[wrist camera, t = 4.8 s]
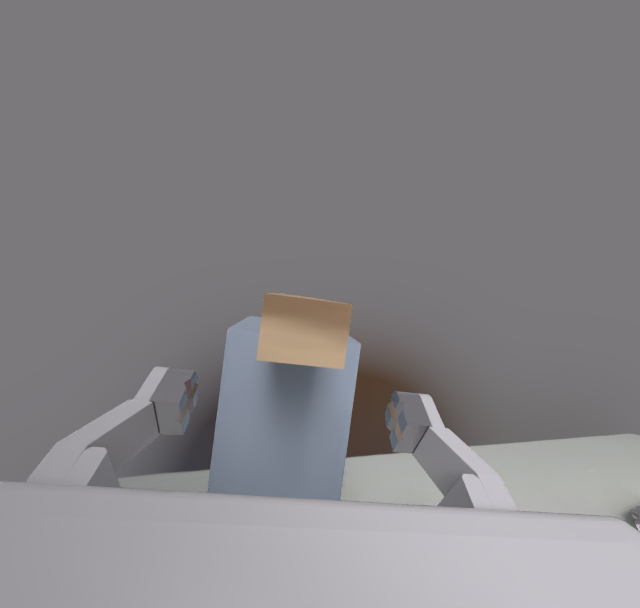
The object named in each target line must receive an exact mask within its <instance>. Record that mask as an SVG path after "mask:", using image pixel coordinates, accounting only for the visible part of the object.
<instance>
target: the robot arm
mask: <svg viewBox="0 0 640 608" xmlns="http://www.w3.org/2000/svg"><path fill="white" fill-rule="evenodd" d="M197 378H198V376H197V372H196V371H191V370H183V369H174V368H165V367H155V368H154V369H153V370H152V371H151V373H150V374H149V376H148V377H147V379H146V380H145V382H144V383H143V385H142V387H141V388H140V390H139V391H138V393H137V394H136V396H135V397H134V399H133V400H127V401H125V402H124V403H122V404H120V405H119V406H117V407H115V408H114V409H112V410H110V411H109V412H107V413H105V414H104V415H102V416H100V417H99V418H97V419H96V420H94V421H92V422H90V423H89V424H87V425H85V426H84V427H82V428H80V429H79V430H77V431H75V432H74V433H72V434H71V435H69V436H67V437H65V438H64V439H62V440H60V441H59V442H57V443H56V444H55V445H54V446H53V448H52V449H51V451H49V453H48V454H47V455H46V456H45V458H44V459H43V460H42V461H41V463H40V464H39V465H38V466H37V468H36V469H35V470H34V471H33V472H32V474H31V475H30V476H29V478H28V479H27V480H26V481H25V482H14V481H13V482H12V481H0V608H640V532H639V531H638V530H636V529H635V528H634V527H632V526H631V525H629V524H628V523H626V522H625V521H623V520H621V519H619V518H615V517H611V516H600V515H582V514H565V513H548V512H530V511H518V509H517V507H516V505H515V503H514V501H513V499H512V497H511V496H510V494H509V492H508V490H507V488H506V486H505V484H504V482H503V481H502V479H501V477H500V475H499V474H498V473H497V472H495V471H494V470H493V469H492V468H491V467H490V466H489V465H488V464H487V463H486V462H484V461H483V460H482V459H481V458H480V457H479V456H478V455H477V454H476V453H475V452H474V451H472V450H471V449H470V448H469V447H468V446H467V445H466V444H464V442H463V441H461V440H460V439H459V438H458V437H457V436H456V435H455V434H454V433H453V432H452V431H450V430H449V429H448V428H445V427H444V425H443V423H442V420H441V418H440V416H439V414H438V412H437V409H436V407H435V404H434V402H433V400H432V398H431V396H430V395H426V394H416V393H406V392H396V391H395V392H394V393H393V394H392V396H391V399H392V402H391V403H389V404H388V405H387V408H386V413H385V420H386V425H387V427H388V428H389V429H390V431H391V434H390V436H389V437H390V441H391V445H392V449H393V452H402V453H411V454H413V456H414V457H415V459H416V460H417V461H418V462H419V464H420V465H421V466H422V468H423V469H424V470H425V472H426V473H427V474H428V476H429V477H430V478H431V479H432V481H433V482H434V483H435V485H436V486H437V487H438V489H439V490H440V491H441V492H442V494H443V495H444V496H445V497H444V498H443V499H442V501H441V502H440V503H439V504H438V506H427V505H409V504H392V503H375V502H358V501H341V500H324V499H306V498H289V497H271V496H254V495H237V494H219V493H202V492H185V491H167V490H150V489H133V488H120V485H119V482H118V479H117V477H116V473H117V472H118V471H119V470H120V469H121V468H122V467H124V466H125V465H126V464H127V463H128V462H129V461H130V460H132V459H133V458H134V457H135V456H136V455H137V454H138V453H139V452H141V451H142V450H143V449H144V448H145V447H146V446H147V445H149V444H150V443H151V442H152V441H153V440H154V439H155V438H157V437H158V436H159V434H175V435H183V434H184V431H185V429H186V427H187V424H188V422H189V413H190V412H191V411H192V410H193V409H194V407H195V405H196V402H197V397H198V385H197V384H196V380H197Z"/></svg>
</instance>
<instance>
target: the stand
mask: <svg viewBox="0 0 640 608" xmlns="http://www.w3.org/2000/svg"><path fill="white" fill-rule="evenodd" d="M260 325H261V317H253V316H249V317H248V318H246V319H245V320H243V321H241V322H239V323H237V324H235V325H234V326H232V327H230V328H229V329H228V332H227V340H226V347H225V355H224V363H223V371H222V379H221V388H220V395H219V404H218V412H217V419H216V427H215V435H214V444H213V452H212V459H211V468H210V476H209V484H208V492H207V493H219V494H237V495H254V496H271V497H289V498H306V499H324V500H340V496H341V488H342V481H343V473H344V466H345V458H346V451H347V443H348V436H349V428H350V421H351V413H352V407H353V399H354V392H355V384H356V377H357V369H358V362H359V355H360V347H361V344H360V343H359V342H357V341H355V340H354V339H353V338H351V337H350V336H349V335H348V343H347V350H346V358H345V365H344V369H335V368H325V367H316V366H306V365H297V364H287V363H277V362H268V361H258V360H256V357H257V349H258V341H259V333H260Z"/></svg>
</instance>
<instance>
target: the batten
mask: <svg viewBox="0 0 640 608" xmlns="http://www.w3.org/2000/svg"><path fill="white" fill-rule="evenodd" d="M351 313H352V305H351V304H345V303H340V302H333V301H328V300H323V299H316V298H311V297H303V296H296V295H288V294H280V293H279V294H277V293H276V294H275V293H270V294H269V293H265V294H264V302H263V310H262V317H261V325H260V333H259V341H258V349H257V357H256V360H258V361H268V362H277V363H287V364H297V365H306V366H316V367H325V368H335V369H344V365H345V358H346V350H347V343H348V335H349V328H350V320H351Z"/></svg>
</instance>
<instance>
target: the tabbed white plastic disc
mask: <svg viewBox="0 0 640 608" xmlns="http://www.w3.org/2000/svg"><path fill="white" fill-rule="evenodd" d="M630 513H631V514H632V516H633V518H634V519H635V521H634V523H635V525H636V527H637V528H638V530H639V531H640V506H637V507H636V509H635V510H634V511H630Z"/></svg>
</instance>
